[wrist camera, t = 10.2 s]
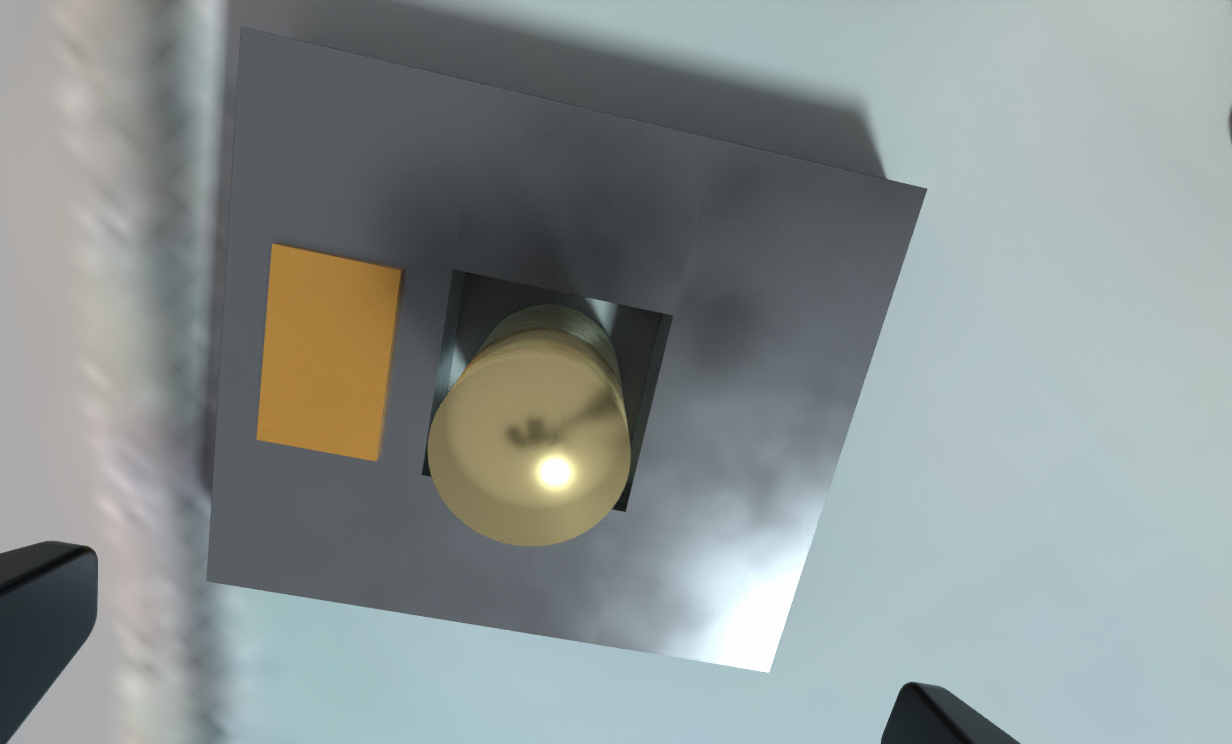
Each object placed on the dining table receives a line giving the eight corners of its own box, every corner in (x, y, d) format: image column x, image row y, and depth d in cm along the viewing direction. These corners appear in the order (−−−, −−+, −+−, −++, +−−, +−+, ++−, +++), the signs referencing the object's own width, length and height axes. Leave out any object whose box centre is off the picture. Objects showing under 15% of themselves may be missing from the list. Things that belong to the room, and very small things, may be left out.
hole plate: (890, 188, 18) (931, 189, 16) (752, 628, 21) (770, 677, 19) (282, 46, 16) (236, 24, 14) (243, 543, 20) (202, 585, 18)
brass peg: (632, 320, 18) (651, 381, 13) (602, 450, 20) (607, 561, 14) (491, 290, 18) (443, 339, 12) (467, 425, 19) (414, 527, 13)
